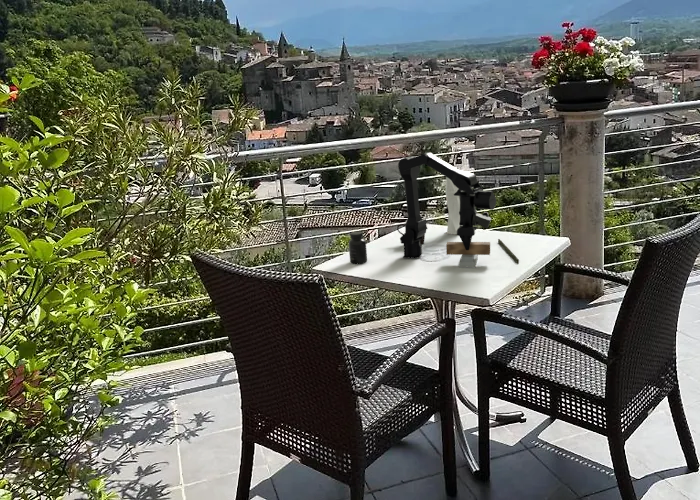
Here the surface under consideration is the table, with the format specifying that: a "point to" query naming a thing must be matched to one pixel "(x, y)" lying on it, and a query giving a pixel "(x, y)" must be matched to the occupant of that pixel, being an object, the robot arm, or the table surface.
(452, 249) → the walnut rod
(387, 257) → the table surface
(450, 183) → the skyscraper
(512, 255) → the rod
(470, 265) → the ridge block
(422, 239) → the coffee mug
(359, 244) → the supplement bottle
